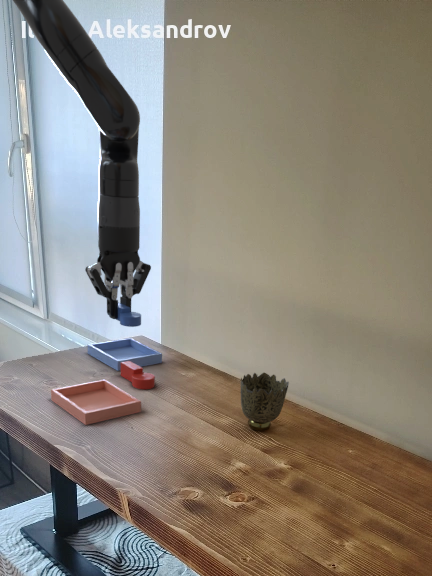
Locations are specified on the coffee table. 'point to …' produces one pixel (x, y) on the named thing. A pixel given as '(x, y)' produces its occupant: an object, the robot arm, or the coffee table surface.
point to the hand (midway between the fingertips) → (119, 317)
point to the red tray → (95, 401)
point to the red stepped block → (137, 375)
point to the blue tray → (124, 353)
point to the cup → (262, 399)
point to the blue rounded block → (128, 316)
